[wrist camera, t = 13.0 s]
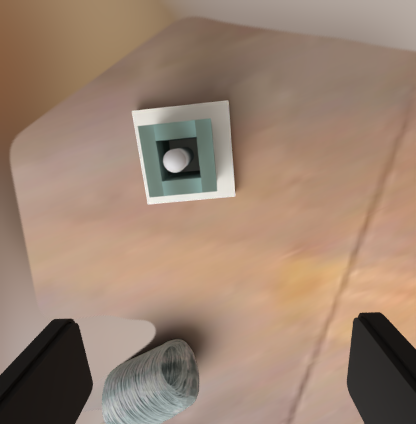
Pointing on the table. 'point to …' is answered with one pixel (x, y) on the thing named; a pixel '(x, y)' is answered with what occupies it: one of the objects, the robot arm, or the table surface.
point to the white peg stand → (192, 146)
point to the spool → (152, 386)
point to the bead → (159, 144)
